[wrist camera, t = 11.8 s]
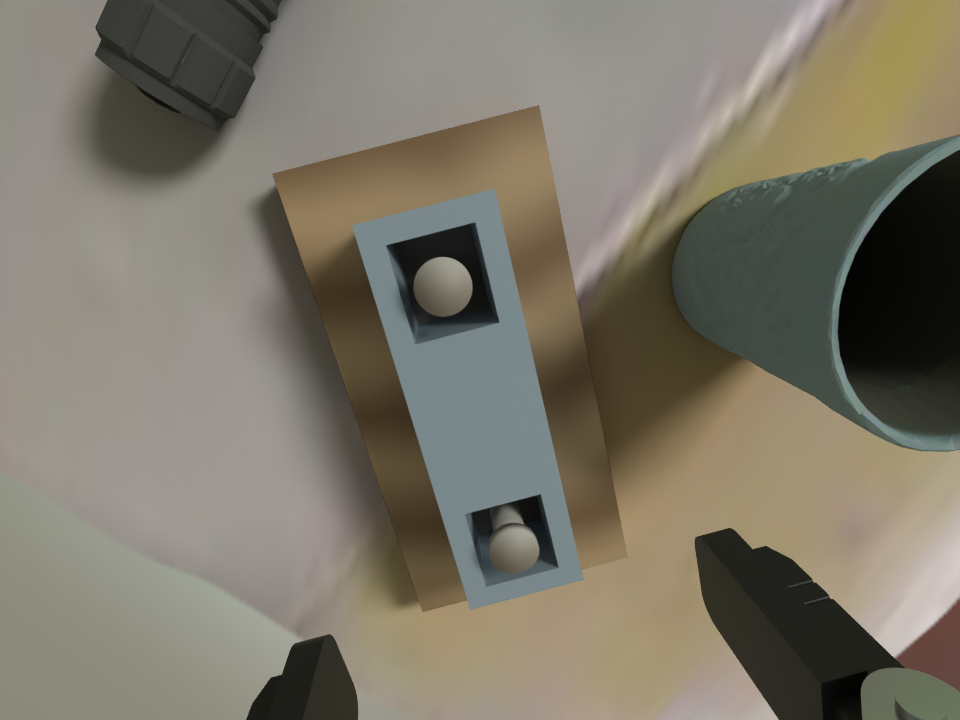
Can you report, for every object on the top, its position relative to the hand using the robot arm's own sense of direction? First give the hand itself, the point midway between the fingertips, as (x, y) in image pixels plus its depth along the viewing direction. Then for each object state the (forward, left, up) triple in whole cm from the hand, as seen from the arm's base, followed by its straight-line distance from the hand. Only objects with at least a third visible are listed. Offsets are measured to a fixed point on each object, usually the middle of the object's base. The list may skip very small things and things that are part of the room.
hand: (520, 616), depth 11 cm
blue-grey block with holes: (0, 0, -15) cm, 15 cm away
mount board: (0, 0, -17) cm, 17 cm away
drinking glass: (-2, +16, -17) cm, 24 cm away
